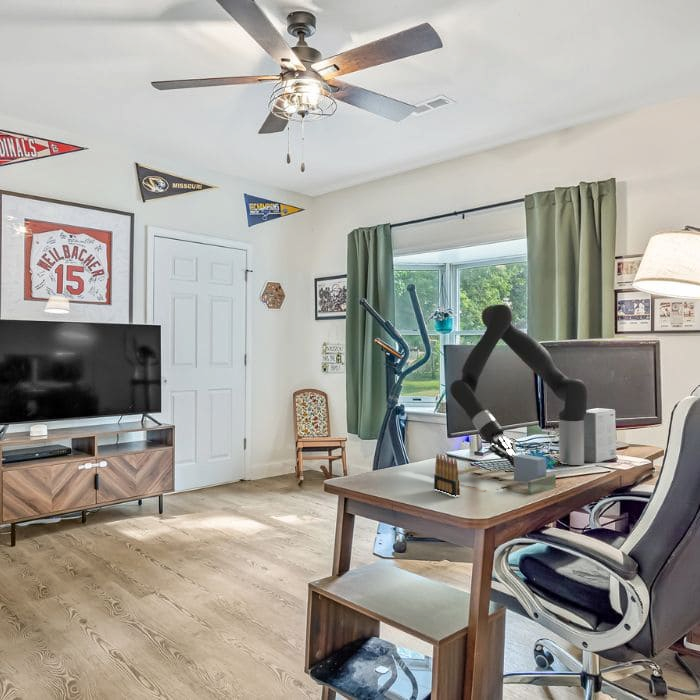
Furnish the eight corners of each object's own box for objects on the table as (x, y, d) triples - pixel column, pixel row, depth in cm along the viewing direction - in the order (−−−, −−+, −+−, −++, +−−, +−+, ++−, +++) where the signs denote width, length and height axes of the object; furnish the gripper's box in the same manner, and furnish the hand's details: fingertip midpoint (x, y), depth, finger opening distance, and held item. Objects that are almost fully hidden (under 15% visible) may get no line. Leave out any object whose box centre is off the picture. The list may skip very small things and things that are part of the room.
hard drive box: (599, 455, 234) (598, 407, 234) (616, 458, 228) (616, 409, 228) (577, 460, 225) (577, 410, 225) (595, 463, 219) (595, 412, 219)
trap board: (449, 475, 200) (449, 464, 200) (477, 469, 210) (477, 458, 210) (531, 494, 175) (531, 482, 175) (559, 486, 185) (558, 474, 185)
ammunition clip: (433, 490, 181) (433, 453, 181) (438, 489, 182) (438, 452, 182) (455, 498, 172) (455, 459, 172) (460, 497, 173) (459, 458, 172)
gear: (532, 470, 201) (525, 447, 208) (525, 479, 205) (519, 456, 212) (560, 473, 202) (553, 450, 210) (553, 481, 207) (546, 458, 214)
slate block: (513, 479, 188) (513, 456, 188) (522, 477, 191) (522, 454, 191) (537, 484, 181) (537, 460, 181) (546, 482, 184) (546, 458, 184)
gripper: (482, 421, 193) (512, 462, 184) (504, 417, 201) (535, 456, 192) (469, 434, 197) (499, 475, 188) (492, 430, 206) (521, 469, 196)
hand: (517, 465), depth 190 cm, fingers closed
